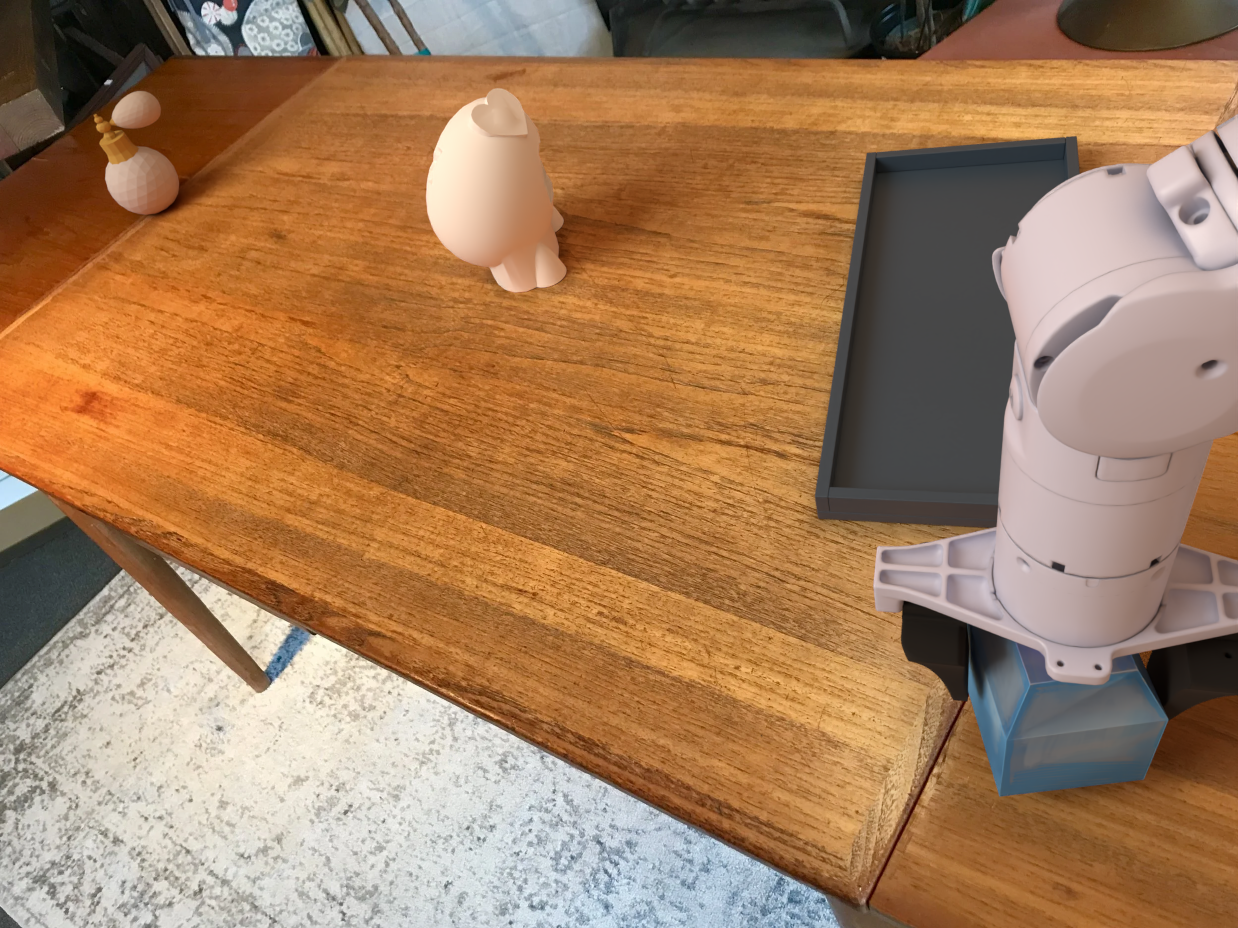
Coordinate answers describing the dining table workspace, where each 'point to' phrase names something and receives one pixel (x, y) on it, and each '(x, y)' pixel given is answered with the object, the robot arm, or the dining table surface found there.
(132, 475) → the dining table surface
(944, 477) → the tray
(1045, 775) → the perfume bottle
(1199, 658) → the robot arm
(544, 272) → the figurine
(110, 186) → the perfume bottle
